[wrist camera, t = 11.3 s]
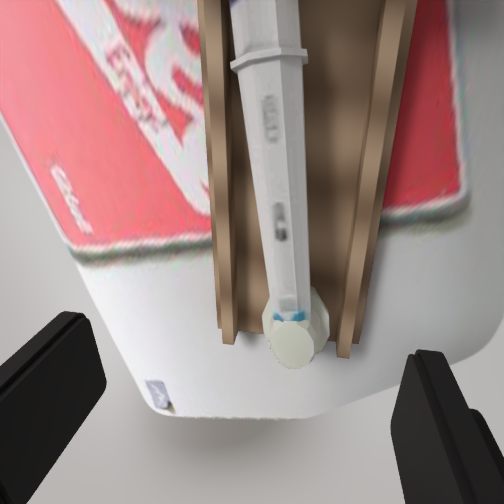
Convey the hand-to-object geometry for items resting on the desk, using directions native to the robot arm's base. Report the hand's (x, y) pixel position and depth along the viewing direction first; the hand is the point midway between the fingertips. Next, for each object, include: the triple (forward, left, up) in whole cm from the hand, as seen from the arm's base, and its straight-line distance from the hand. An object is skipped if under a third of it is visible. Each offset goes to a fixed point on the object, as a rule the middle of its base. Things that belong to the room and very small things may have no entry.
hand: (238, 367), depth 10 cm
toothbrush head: (0, 0, -18) cm, 18 cm away
